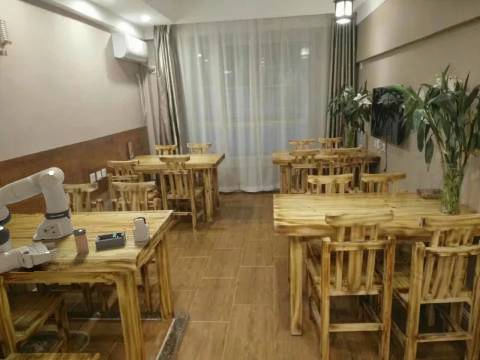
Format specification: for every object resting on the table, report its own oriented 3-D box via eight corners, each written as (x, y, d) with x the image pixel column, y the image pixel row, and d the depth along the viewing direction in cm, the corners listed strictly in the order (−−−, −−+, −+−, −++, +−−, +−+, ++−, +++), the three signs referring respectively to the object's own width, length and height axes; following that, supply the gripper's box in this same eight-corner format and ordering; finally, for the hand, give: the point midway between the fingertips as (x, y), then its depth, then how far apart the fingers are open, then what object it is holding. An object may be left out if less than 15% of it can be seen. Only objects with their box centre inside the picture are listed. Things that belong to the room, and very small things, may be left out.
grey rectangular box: (96, 249, 181) (94, 240, 180) (99, 242, 190) (97, 233, 189) (124, 244, 184) (123, 235, 183) (125, 238, 194) (124, 229, 192)
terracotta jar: (76, 255, 174) (71, 233, 172) (78, 251, 180) (74, 229, 177) (88, 254, 176) (84, 231, 173) (90, 249, 181) (86, 227, 178)
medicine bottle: (137, 237, 194) (134, 216, 191) (150, 235, 195) (147, 215, 192) (134, 242, 187) (131, 220, 184) (147, 240, 188) (144, 219, 185)
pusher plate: (113, 243, 184) (112, 236, 183) (115, 238, 191) (114, 232, 190) (118, 242, 185) (117, 236, 184) (119, 237, 191) (118, 231, 190)
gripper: (21, 255, 169) (53, 247, 178) (29, 269, 154) (63, 259, 162) (19, 243, 168) (50, 235, 176) (26, 256, 152) (61, 246, 161)
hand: (56, 246), depth 169 cm, fingers open, 8 cm apart
